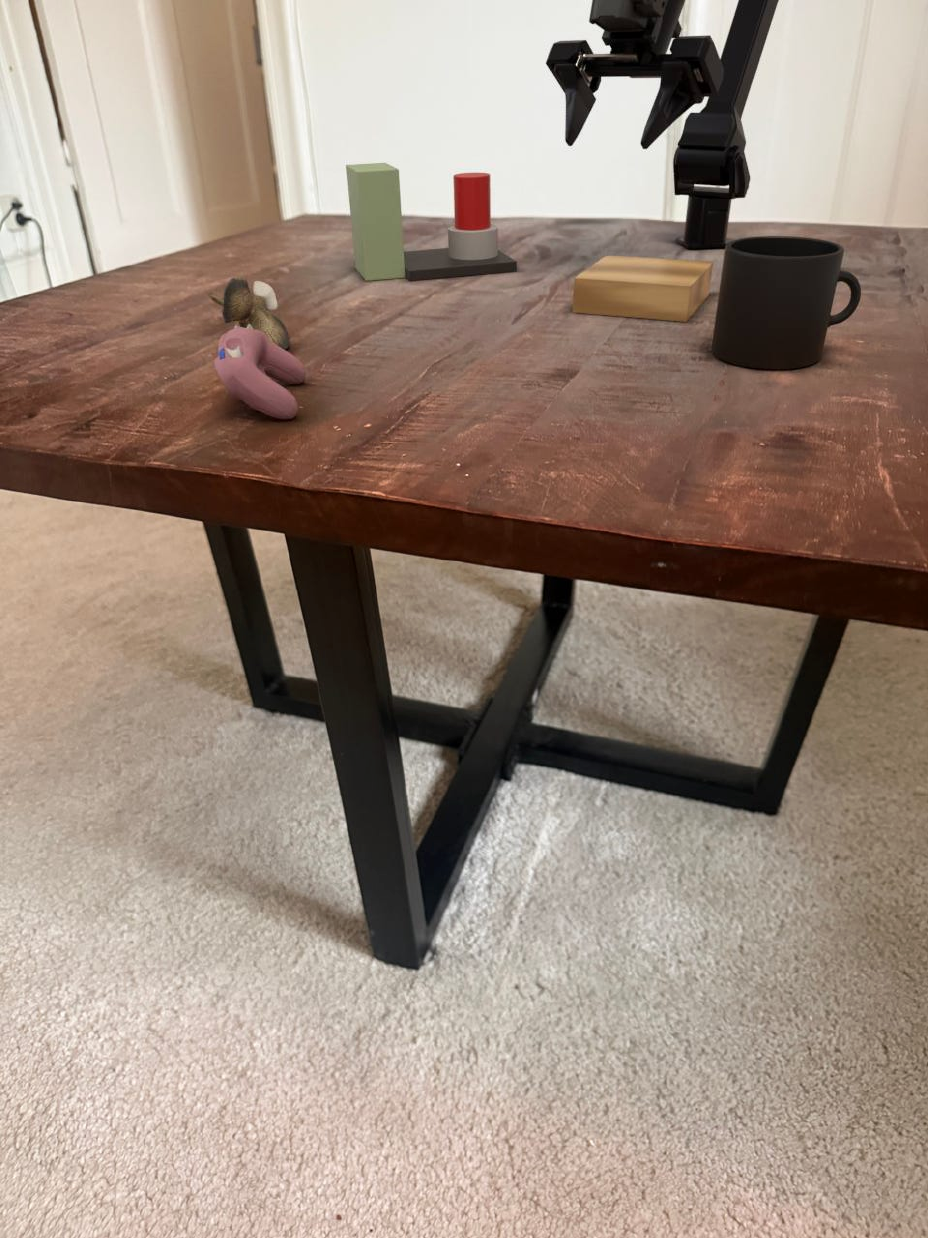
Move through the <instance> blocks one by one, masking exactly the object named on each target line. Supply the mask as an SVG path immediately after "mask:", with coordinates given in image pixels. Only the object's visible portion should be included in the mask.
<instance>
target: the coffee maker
mask: <svg viewBox="0 0 928 1238" xmlns="http://www.w3.org/2000/svg"><path fill="white" fill-rule="evenodd" d="M345 171H346V184H347V191H348V202H349V203H348V204H349V214H350V215H349V216H350V225H351V226H350V227H351V237H352V247H353V256H354V257H353V258H354V267H355V269H356V271H357V272H358V273H359V274H360V276H361V277H363V280H365V281H366V282H372V281H383V280H384V281H385V280H395V279H406V280H408V282H412V281H424V280H425V281H426V280H435V279H446V278H448V279H449V278H456V277H468V276H480V275H491V274H503V273H511V272H512V273H514V272H518V261H517V260H516V259H513V258H512V257H510V256H509V255H507V254H505V253H504V252H502V251H500V250H499V227H498V226H497V225H495V224H492V223H491V227H490V228H488V229H484V230H459V229H456V228H455V224H454V225H453V224H452V225H451V226H448V228H447V240H448V241H447V243H448V245H447V247H446V248H445V247H444V248H431V249H420V250H418V249H417V250H406V251H405V248H404V246H405V245H404V231H403V215H402V200H401V199H402V198H401V197H402V196H401V181H400V169H399V168H397V167H395V166H393V165H390V164H389V163H387V162H373V163H358V164H357V163H356V164H345Z"/></svg>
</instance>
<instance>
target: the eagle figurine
mask: <svg viewBox="0 0 928 1238" xmlns="http://www.w3.org/2000/svg"><path fill="white" fill-rule="evenodd" d="M205 293H206V294H207V296H208V297H209V298H210V299H211V300H212V301H213V302H214V303H216V304H218V305H219V306H222V307H221V314H222V318H223V321H224V323H225V324H229V323H233V322H235V323H234V327H233V329H234V328H237V327H244V328H247V326H248V325H249V324H250V325H251V326H252V327H253V329H254V330H259V331H260V332H262V333H263V334H264V335H265V336H266V337H267V338H268V339H269V340H271V341H272V342H273V343H275V344H276V345H277V346H279V347H280V348H282V349H284V350H286V349H288V348H289V346H290V343H291V338H290V336H289V331H288V329H287V327H286V325H285V324H284V322H283V321H282V320H281V319H280V318H278V317H277V316H275V315H274V314H273V313H271V312H270V311H276V310H277V309H278V301H277V295H276V293H275V291H274V289H273V287H271V286H270V285H269V284H268V283H266V282H263V281H260V280H254V282H253V285H252V293H253V295H252V293H251V289H250V286H249V283H248V279H246V278H245V279H242V278H241V279H239V278H235V277H231V278H230V280H228V282H227V284H226V285H225V287H224V289H223V295H222V298H221V297H219V296H218V295H216V294H215V293H213V292H212V290H210V289H207V288H206V289H205Z"/></svg>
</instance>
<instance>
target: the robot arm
mask: <svg viewBox="0 0 928 1238" xmlns="http://www.w3.org/2000/svg"><path fill="white" fill-rule="evenodd" d="M779 1H780V0H737V4H736V7H735V10H734V14H733V17H732V20H731V23H730V26H729V30H728V33H727V36H726V40H725V43H724V45H723V49H722V53H721V56H720V55H719V52H718V48H717V47H716V43H715V41H714V40H713V38H712V36H711V35H710V34H709V35H684V36H683V35H681V33H682V29H683V28H682V25H681V23H680V20H679V19H680V17H681V14H682V11H683V8H684V6H685V4H686V0H592V1H591V6H590V12H589V19H588V22H589V24H591V25H596V26H598V27H599V28H600V29H602V30H603V33H602V35H601V39H602V42H603V43H604V46H609V47H610V51H609V53H594V52H593V49H592V48H591V46H590V44H589V42H588V41H587V39H578V40H577V39H571V40H559V41H555V42H553V43H552V45H551V47H550V50H549V53H548V56H547V58H546V61H545V65H546V66H547V68H548V69H549V71H550V73H551V74H552V76H553V77H554V79H555V80H556V82H557V84H558V86H559V87H560V88H561V90H562V92H563V93H564V95H565V96H564V97H565V98H564V99H565V129H564V130H565V131H564V133H565V134H564V140H565V141H564V142H565V143H566V145H567V146H568V147H573V145H574V143H575V142H576V141H577V139H578V137H579V135H580V134H581V132H582V129H584V126H585V124H586V121H587V119H588V118H589V115H590V113H591V112H592V109H593V107H594V105H595V104H596V102H597V98H596V95H594V94H595V93H596V92H598V90H599V88H600V85H601V82H602V78H617V77H619V78H620V77H621V78H622V77H623V78H625V77H626V78H630V79H660V82H659V88H658V91H657V94H656V96H655V99H654V101H653V104H652V107H651V109H650V112H649V115H648V117H647V120H646V122H645V125H644V128H643V131H642V134H641V139H640V143H639V144H640V146H641V148H642V150H647V149H649V148H650V147H651V145H653V143H655V142H656V141H657V140H658V139H659V138H660V136H661V135H662V134H664V133H665V131H666V130H667V129H669V127H670V126H672V124H673V123H674V122H676V121H677V120H678V119H679V118H680V117H682V116H683V115H684V114H685V113H686V112H687V111H688V110H689V109H691V108H692V107H693V106H694V105H699V104H700V105H701V104H702V103H703V101H704V99H705V98H707V101H706V103H705V106H704V107H703V108H702V109H701V110H700V111H699V112H690V113H689V114H687V117H686V118H685V121H684V126H683V129H682V133H681V136H680V139H679V140H678V142H677V147H676V149H675V150H674V151H675V152H674V154H673V161H672V171H673V189H674V191H673V193H674V196H688V197H687V207H686V215H685V222H684V223H685V224H684V232H683V233H684V234H683V236H675V240H674V241H675V242H677V243H679V244H680V245H682V246H684V247H685V248H687V249H690V250H691V249H693V250H694V249H709V248H710V249H711V248H725V247H726V245H727V243H729V242H731V241H732V240H730V239H728V238H727V234H728V227H729V220H730V213H731V207H732V206H731V205H732V200H735V199H746V195H747V194H748V190H749V188H750V183H751V174H750V169H749V165H748V161H747V158H746V153H745V150H746V146H747V139H746V135H745V130H744V127H743V122H742V118H743V114H744V110H745V107H746V105H747V101H748V98H749V95H750V92H751V89H752V86H753V83H754V79H755V76H756V73H757V70H758V67H759V64H760V61H761V57H762V54H763V51H764V48H765V46H766V42H767V40H768V39H767V38H768V35H769V33H770V29H771V26H772V23H773V20H774V17H775V13H776V10H777V7H778V4H779ZM668 50H669V52H670V53H668Z"/></svg>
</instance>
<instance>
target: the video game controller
mask: <svg viewBox="0 0 928 1238" xmlns="http://www.w3.org/2000/svg"><path fill="white" fill-rule="evenodd" d="M217 351H218V353H217V355H218V356H217V357H216V358H215V359H214V368H215V371H216V374H217V375H218V378H219V380H220V381H221V383H222V384H223V386H224V387H225V388H226V390H227V391H228V393H230V394H231V395H232V396H233V397H234V398H235V399H237V400H239V401H242V402H244V403H245V404H247V406H249V408H250V409H252V410H253V411H258V412H260V413H262V414H264V415H266V416H269V417H272V418H275V419H278V420H291V419H294V418H295V416H296V415H297V414H298V411H299V405H298V402H297V401H298V400H297V399H296V397H294V396H293V395H292V393H291V391H289V390H288V389H287V388H285V387H284V386H282V385H281V384H279V383H278V382H280V383H285V384H290V385H299V384H301V383H302V382H304V380H305V379H306V375H307V373H306V368H305V367H304V364H302V362H301V361H300V360H299V358H297V357H296V356H295V355H293V354H292V353H290V352H289V351H287V350H286V349H285V348H284V349H282V348H280V347H279V346H277V345H276V344H275V343H273V342H272V341H271V340H269V339H268V338H267V337H266V336H265V335H264V334H263V333H262V332H260V331H259V330H254V329H253V327H252V326H251V325H250V324H249V325H248V326H247V328H244V327H237V328H234V327H233V328H232V329H230V330H229V331H226V332H225V333H223V334H222V335H221V336H220V338H219V340H218V344H217ZM272 379H273V380H272ZM274 380H275V381H274ZM276 381H278V382H276Z"/></svg>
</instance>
